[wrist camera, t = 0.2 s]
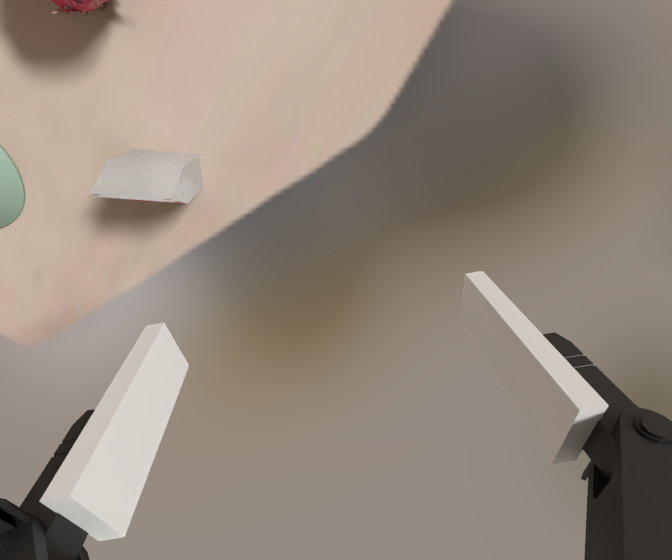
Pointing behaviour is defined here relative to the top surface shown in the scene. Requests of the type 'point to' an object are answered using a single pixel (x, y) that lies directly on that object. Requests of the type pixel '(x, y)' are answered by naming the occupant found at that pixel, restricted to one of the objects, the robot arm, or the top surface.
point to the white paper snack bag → (150, 177)
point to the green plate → (10, 190)
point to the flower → (79, 5)
